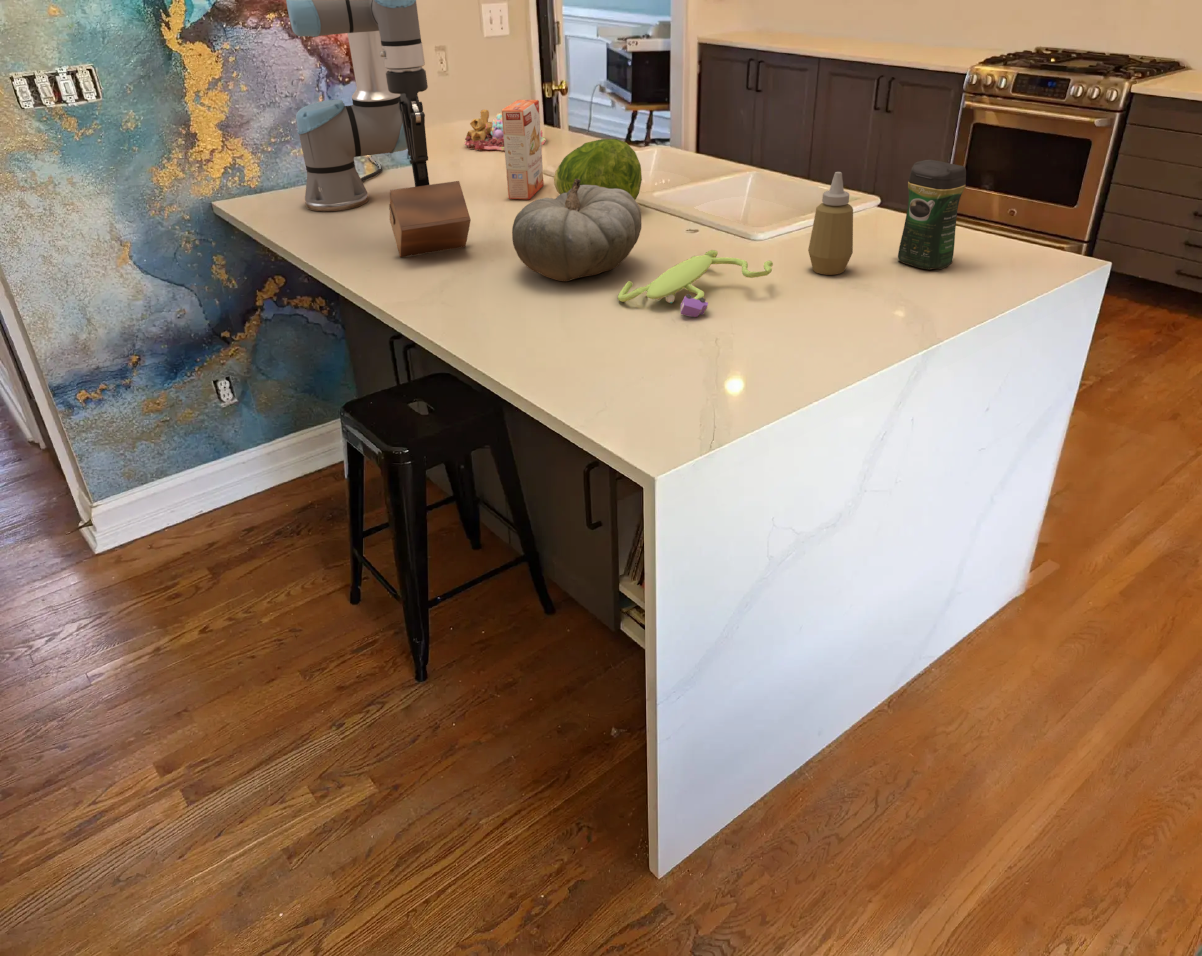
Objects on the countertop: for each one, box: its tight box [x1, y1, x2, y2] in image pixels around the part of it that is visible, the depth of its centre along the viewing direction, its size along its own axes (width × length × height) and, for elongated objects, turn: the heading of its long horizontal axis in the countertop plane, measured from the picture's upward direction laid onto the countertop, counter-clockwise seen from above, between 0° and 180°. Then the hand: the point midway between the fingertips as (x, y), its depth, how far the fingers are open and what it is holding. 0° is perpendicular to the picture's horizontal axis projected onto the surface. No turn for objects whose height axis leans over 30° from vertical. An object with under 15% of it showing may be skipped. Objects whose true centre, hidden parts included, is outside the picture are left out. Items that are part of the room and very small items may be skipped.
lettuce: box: [553, 138, 643, 201], centre depth 204 cm, size 17×23×16 cm
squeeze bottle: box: [807, 171, 854, 276], centre depth 162 cm, size 8×8×18 cm
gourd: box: [511, 179, 642, 282], centre depth 169 cm, size 25×25×17 cm
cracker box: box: [501, 99, 545, 201], centre depth 217 cm, size 14×6×21 cm, turn 168°
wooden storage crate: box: [388, 180, 472, 258], centre depth 182 cm, size 9×14×11 cm
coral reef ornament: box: [464, 109, 546, 151], centre depth 271 cm, size 25×24×9 cm
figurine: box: [617, 249, 774, 318], centre depth 158 cm, size 18×27×6 cm
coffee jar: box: [897, 159, 967, 270], centre depth 163 cm, size 10×8×19 cm
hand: (423, 194), depth 181 cm, fingers closed
